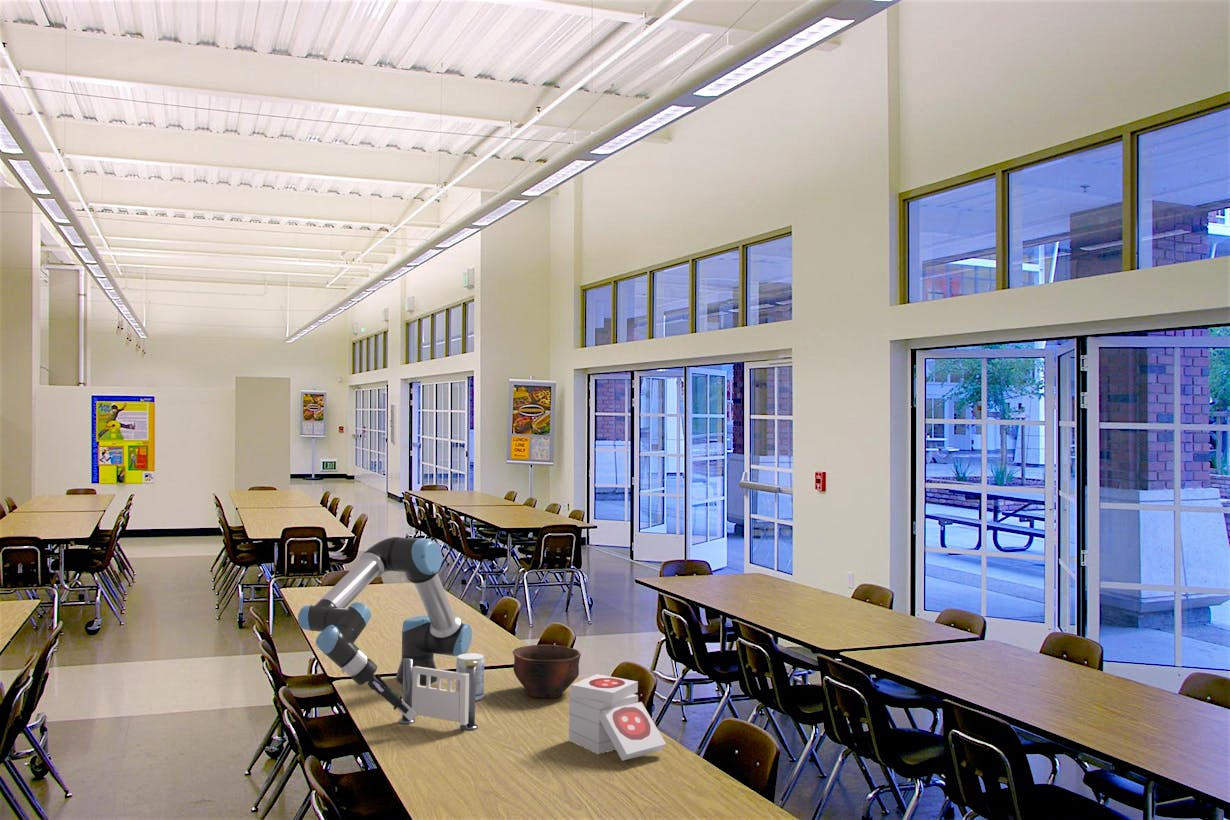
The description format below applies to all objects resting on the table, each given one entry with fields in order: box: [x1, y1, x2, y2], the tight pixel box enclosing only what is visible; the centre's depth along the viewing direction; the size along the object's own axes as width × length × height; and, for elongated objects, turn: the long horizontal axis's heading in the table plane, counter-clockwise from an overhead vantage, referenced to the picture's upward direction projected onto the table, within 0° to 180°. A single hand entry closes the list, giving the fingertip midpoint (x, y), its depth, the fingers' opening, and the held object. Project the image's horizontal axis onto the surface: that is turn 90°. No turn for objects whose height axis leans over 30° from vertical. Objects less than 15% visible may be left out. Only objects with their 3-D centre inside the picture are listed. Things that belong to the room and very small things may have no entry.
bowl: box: [512, 644, 582, 699], centre depth 339 cm, size 25×25×15 cm
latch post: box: [465, 660, 479, 731], centre depth 300 cm, size 5×5×21 cm
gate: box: [412, 666, 469, 732], centre depth 300 cm, size 20×2×18 cm, turn 66°
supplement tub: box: [455, 652, 485, 702], centre depth 332 cm, size 10×10×15 cm
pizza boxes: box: [568, 673, 667, 761], centre depth 285 cm, size 19×30×18 cm, turn 39°
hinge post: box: [398, 658, 416, 725], centre depth 305 cm, size 5×5×20 cm
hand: (413, 717), depth 292 cm, fingers closed
